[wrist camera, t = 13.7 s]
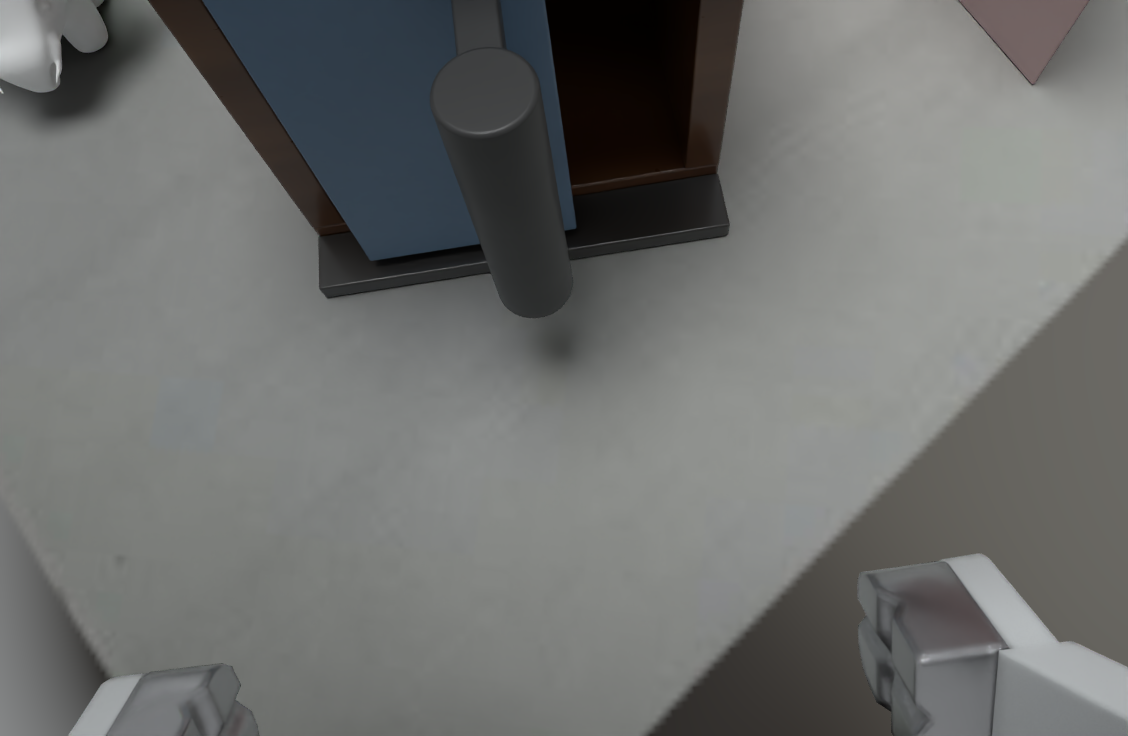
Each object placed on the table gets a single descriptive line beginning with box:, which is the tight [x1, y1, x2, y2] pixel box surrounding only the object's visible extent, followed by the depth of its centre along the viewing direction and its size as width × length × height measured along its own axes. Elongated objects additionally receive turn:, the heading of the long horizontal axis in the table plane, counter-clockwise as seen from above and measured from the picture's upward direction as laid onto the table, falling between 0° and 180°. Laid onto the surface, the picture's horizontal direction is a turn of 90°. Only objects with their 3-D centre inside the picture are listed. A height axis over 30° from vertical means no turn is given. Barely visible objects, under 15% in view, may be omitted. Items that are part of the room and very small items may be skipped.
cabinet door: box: [202, 0, 577, 318], centre depth 17 cm, size 5×6×13 cm
